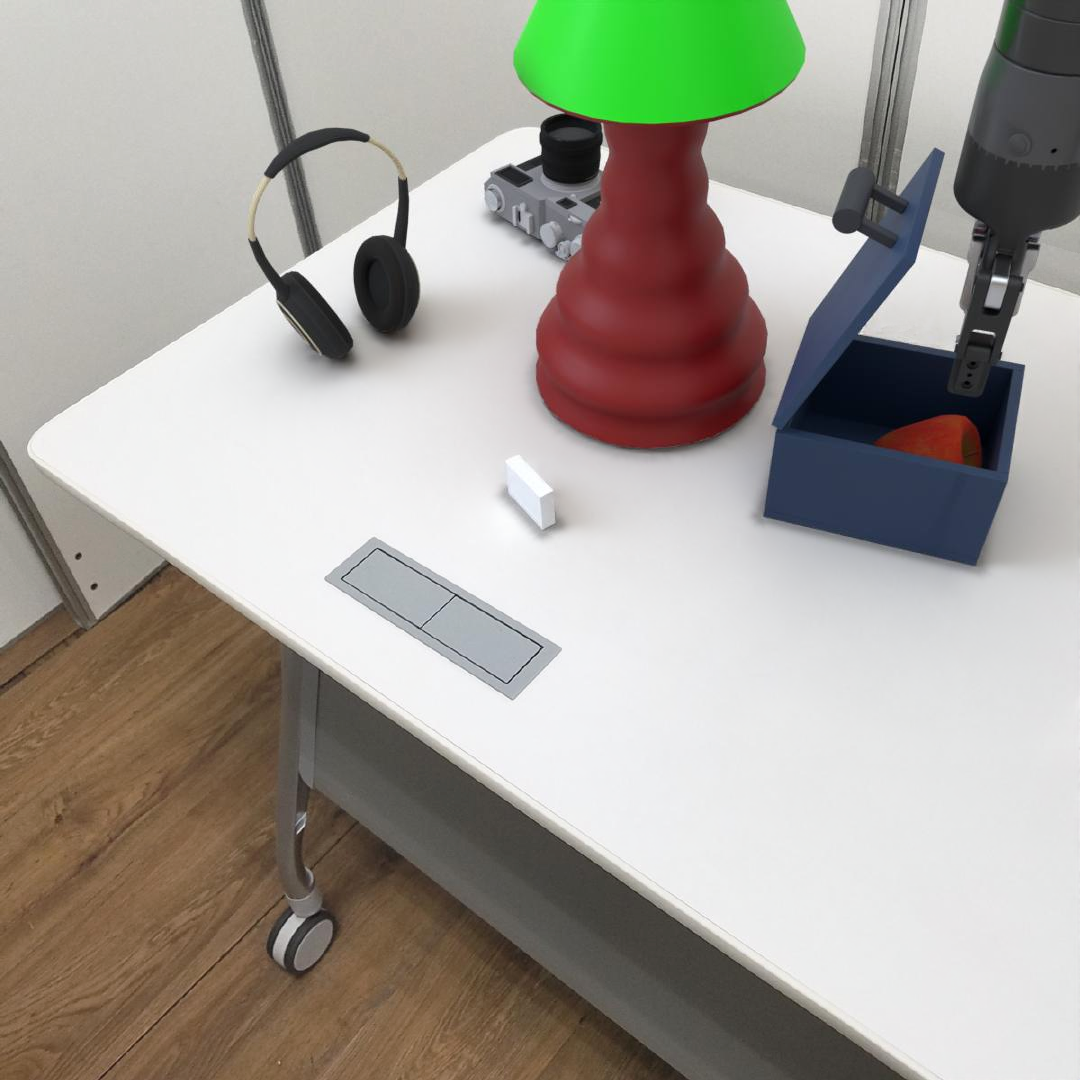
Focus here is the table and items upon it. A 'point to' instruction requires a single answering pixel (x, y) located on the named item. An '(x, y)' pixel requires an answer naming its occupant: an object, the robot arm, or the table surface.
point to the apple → (938, 440)
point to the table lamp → (654, 213)
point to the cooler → (894, 452)
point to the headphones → (378, 266)
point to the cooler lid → (861, 273)
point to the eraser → (530, 491)
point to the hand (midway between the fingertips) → (971, 352)
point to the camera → (553, 184)
